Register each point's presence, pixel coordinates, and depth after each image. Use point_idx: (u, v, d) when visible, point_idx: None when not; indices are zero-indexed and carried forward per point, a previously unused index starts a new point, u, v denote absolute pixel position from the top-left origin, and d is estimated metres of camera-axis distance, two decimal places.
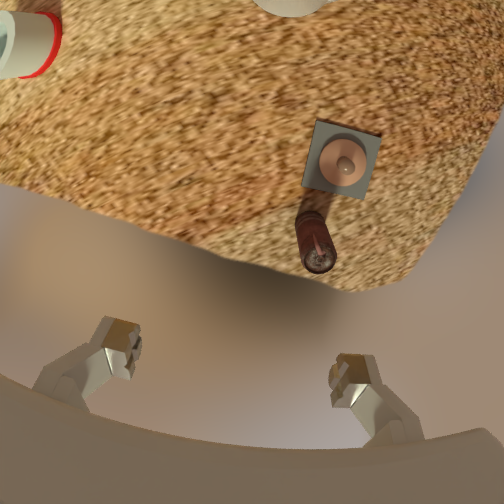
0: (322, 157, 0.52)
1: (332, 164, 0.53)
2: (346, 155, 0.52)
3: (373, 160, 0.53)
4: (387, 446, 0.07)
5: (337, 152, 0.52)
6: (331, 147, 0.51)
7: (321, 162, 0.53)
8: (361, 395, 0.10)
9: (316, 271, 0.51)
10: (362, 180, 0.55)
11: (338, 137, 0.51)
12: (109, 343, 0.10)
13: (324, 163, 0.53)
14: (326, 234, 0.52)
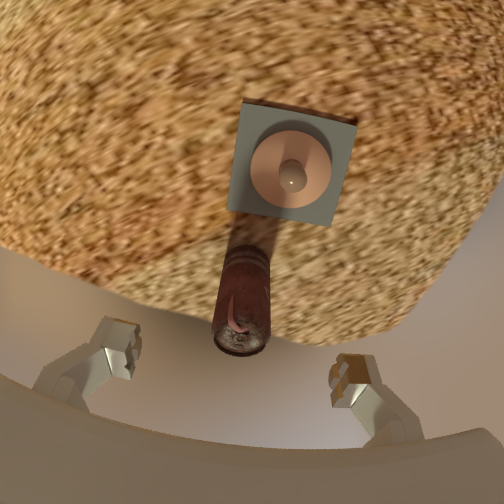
0: (253, 163, 0.32)
1: (272, 174, 0.33)
2: (295, 157, 0.32)
3: (344, 163, 0.33)
4: (387, 446, 0.07)
5: (279, 153, 0.32)
6: (268, 145, 0.31)
7: (252, 171, 0.33)
8: (360, 395, 0.10)
9: (238, 352, 0.32)
10: (326, 196, 0.35)
11: (281, 128, 0.31)
12: (109, 343, 0.10)
13: (257, 173, 0.33)
14: (256, 293, 0.32)
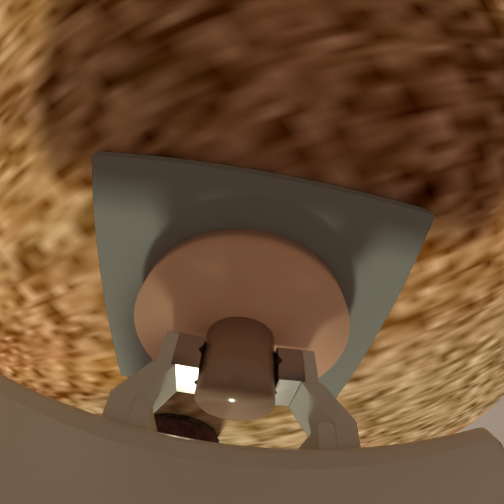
0: (141, 322, 0.12)
1: None
2: (248, 314, 0.11)
3: (383, 307, 0.13)
4: (387, 446, 0.07)
5: (200, 304, 0.11)
6: (167, 284, 0.11)
7: (144, 338, 0.12)
8: (296, 392, 0.10)
9: None
10: None
11: (209, 224, 0.11)
12: (180, 359, 0.10)
13: (155, 341, 0.12)
14: None
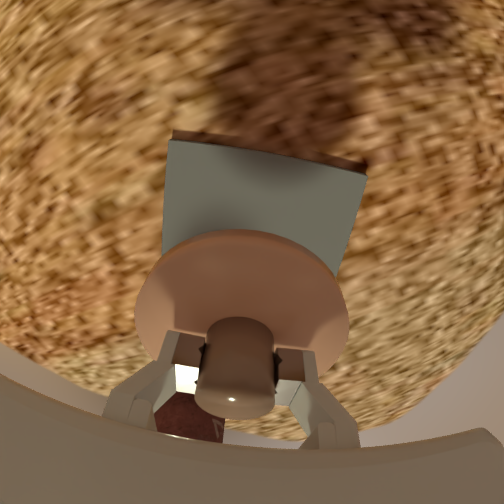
0: (141, 322, 0.12)
1: None
2: (248, 314, 0.11)
3: (343, 238, 0.21)
4: (387, 446, 0.07)
5: (201, 304, 0.11)
6: (168, 284, 0.11)
7: (144, 337, 0.12)
8: (296, 392, 0.10)
9: None
10: None
11: (236, 181, 0.19)
12: (180, 359, 0.10)
13: (155, 341, 0.13)
14: (197, 437, 0.19)
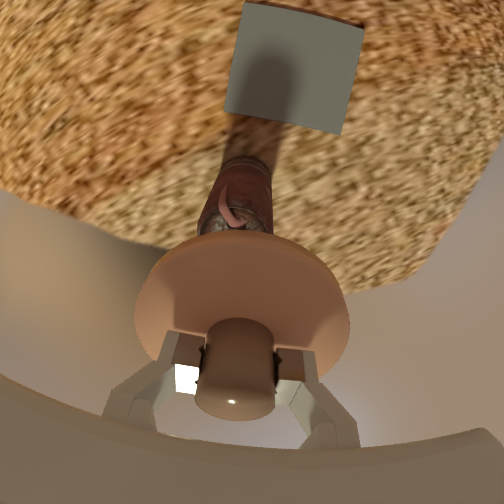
0: (141, 323, 0.12)
1: None
2: (248, 315, 0.11)
3: (353, 65, 0.27)
4: (387, 446, 0.07)
5: (201, 305, 0.11)
6: (168, 286, 0.11)
7: (144, 338, 0.12)
8: (296, 392, 0.10)
9: None
10: (335, 99, 0.29)
11: (285, 26, 0.25)
12: (180, 359, 0.10)
13: (155, 342, 0.13)
14: (255, 187, 0.26)
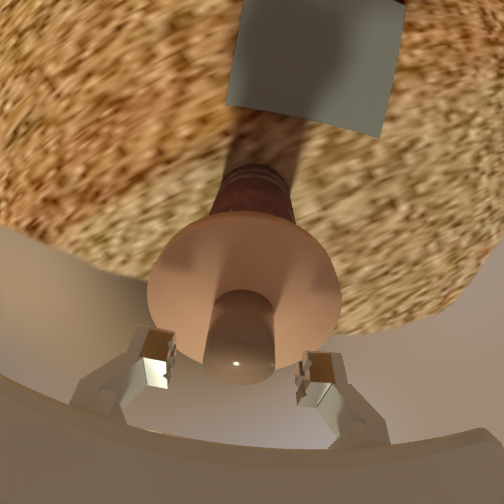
0: (153, 297, 0.13)
1: (198, 318, 0.14)
2: (250, 287, 0.13)
3: (394, 48, 0.19)
4: (387, 446, 0.07)
5: (208, 278, 0.13)
6: (179, 260, 0.12)
7: (155, 312, 0.14)
8: (325, 394, 0.10)
9: None
10: (373, 91, 0.21)
11: None
12: (148, 352, 0.10)
13: (165, 316, 0.14)
14: (276, 211, 0.17)
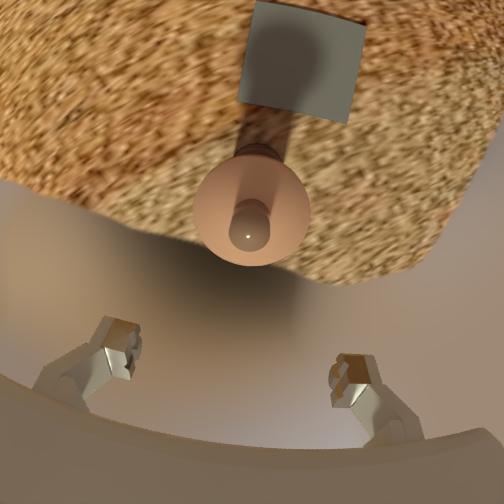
0: (197, 206, 0.23)
1: (223, 220, 0.23)
2: (255, 196, 0.22)
3: (357, 59, 0.28)
4: (387, 446, 0.07)
5: (232, 191, 0.22)
6: (216, 180, 0.22)
7: (196, 217, 0.23)
8: (361, 395, 0.10)
9: None
10: (341, 90, 0.30)
11: (293, 22, 0.27)
12: (109, 343, 0.10)
13: (203, 220, 0.24)
14: None
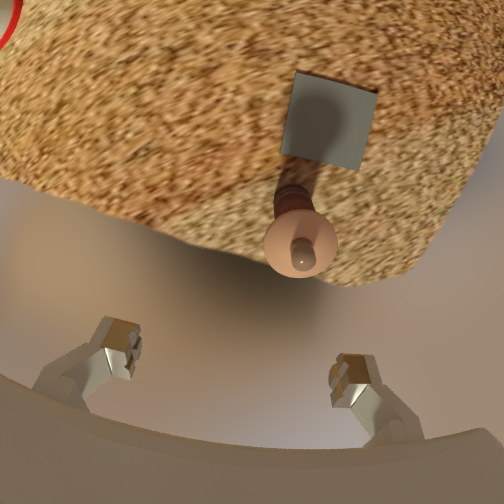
0: (267, 241, 0.36)
1: (283, 250, 0.37)
2: (305, 236, 0.36)
3: (369, 121, 0.41)
4: (387, 446, 0.07)
5: (290, 232, 0.36)
6: (281, 226, 0.35)
7: (266, 248, 0.37)
8: (361, 395, 0.10)
9: None
10: (356, 146, 0.44)
11: (324, 92, 0.40)
12: (109, 343, 0.10)
13: (270, 249, 0.37)
14: (310, 209, 0.40)
